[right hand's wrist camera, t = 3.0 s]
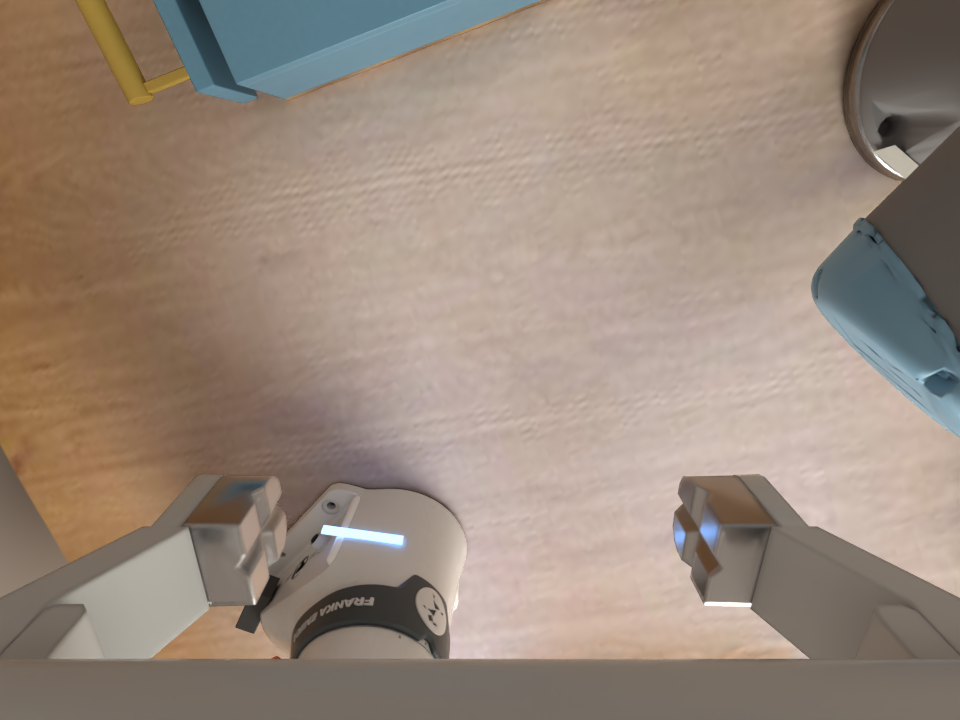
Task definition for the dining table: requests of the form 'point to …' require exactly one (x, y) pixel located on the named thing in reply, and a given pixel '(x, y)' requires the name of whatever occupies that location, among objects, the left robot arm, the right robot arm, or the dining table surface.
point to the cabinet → (335, 36)
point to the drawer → (191, 43)
